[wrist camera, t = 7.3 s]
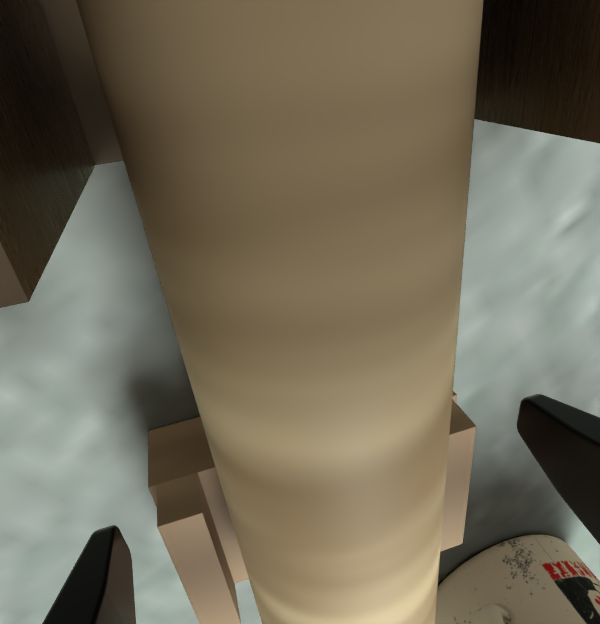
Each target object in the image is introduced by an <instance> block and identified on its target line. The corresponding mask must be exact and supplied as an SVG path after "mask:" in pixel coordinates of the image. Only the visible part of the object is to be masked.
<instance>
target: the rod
mask: <svg viewBox="0 0 600 624" xmlns="http://www.w3.org/2000/svg"><path fill="white" fill-rule="evenodd" d="M76 2H77V6H78V9H79V12H80V16H81V19H82V22H83V26H84V29H85V33H86V36H87V39H88V43H89V46H90V49H91V53H92V56H93V59H94V63H95V66H96V69H97V73H98V76H99V79H100V83H101V86H102V89H103V93H104V96H105V99H106V103H107V106H108V109H109V113H110V116H111V119H112V123H113V126H114V129H115V133H116V136H117V139H118V143H119V146H120V149H121V153H122V156H123V159H124V163H125V166H126V169H127V173H128V176H129V180H130V183H131V186H132V190H133V193H134V196H135V200H136V203H137V206H138V210H139V213H140V216H141V220H142V223H143V226H144V230H145V233H146V236H147V240H148V243H149V246H150V250H151V253H152V256H153V260H154V263H155V266H156V270H157V273H158V276H159V280H160V283H161V286H162V290H163V293H164V296H165V300H166V303H167V306H168V310H169V313H170V317H171V320H172V323H173V327H174V330H175V333H176V337H177V340H178V343H179V347H180V350H181V353H182V357H183V360H184V363H185V367H186V370H187V373H188V377H189V380H190V383H191V387H192V390H193V393H194V397H195V400H196V403H197V407H198V410H199V413H200V417H201V420H202V423H203V427H204V430H205V433H206V437H207V440H208V443H209V447H210V450H211V454H212V457H213V460H214V464H215V467H216V470H217V474H218V477H219V480H220V484H221V487H222V490H223V494H224V497H225V500H226V504H227V507H228V510H229V514H230V517H231V520H232V524H233V527H234V530H235V534H236V537H237V540H238V544H239V547H240V550H241V554H242V557H243V560H244V564H245V567H246V570H247V574H248V577H249V580H250V584H251V587H252V591H253V594H254V597H255V601H256V604H257V607H258V611H259V614H260V617H261V621H262V624H435V612H436V599H437V586H438V574H439V561H440V548H441V535H442V523H443V510H444V497H445V484H446V472H447V459H448V446H449V433H450V421H451V408H452V395H453V382H454V370H455V357H456V344H457V331H458V319H459V306H460V293H461V280H462V268H463V255H464V242H465V229H466V217H467V204H468V191H469V178H470V166H471V153H472V140H473V127H474V115H475V102H476V89H477V76H478V63H479V51H480V38H481V25H482V12H483V0H76Z"/></svg>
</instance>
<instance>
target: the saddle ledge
mask: <svg viewBox="0 0 600 624" xmlns="http://www.w3.org/2000/svg"><path fill="white" fill-rule="evenodd" d="M456 399H457V395H456V394H455V392H454V391H453V395H452V408H451V421H450V433H449V446H448V459H447V472H446V484H445V497H444V510H443V523H442V535H441V548H440V552H441V551H444V550H447V549H449V548H452V547H455V546H458V545H460V544H463V535H464V527H465V519H466V510H467V502H468V493H469V485H470V476H471V468H472V459H473V451H474V442H475V434H476V425H475V424H474V423H473V422H472V421H471V420H470V419H469V418H468V416H467V415H466V414H465V413H464V412H463V411H462V410H461V408H460V407H459V406H458V405H457V404H456ZM148 488H149V490H150V492H151V495H152V497H153V499H154V502H155V504H156V506H157V527H158V529H159V532H160V534H161V536H162V539H163V541H164V543H165V545H166V548H167V550H168V552H169V555H170V557H171V559H172V561H173V564H174V566H175V568H176V571H177V573H178V575H179V577H180V580H181V582H182V584H183V587H184V589H185V591H186V593H187V596H188V598H189V600H190V603H191V605H192V607H193V609H194V612H195V614H196V616H197V619H198V621H199V623H200V624H241V621H240V615H239V609H238V602H237V596H236V590H235V583H238V582H241V581H244V580H246V579H249V577H248V574H247V570H246V567H245V564H244V560H243V557H242V554H241V550H240V547H239V544H238V540H237V537H236V534H235V530H234V527H233V524H232V520H231V517H230V514H229V510H228V507H227V504H226V500H225V497H224V494H223V490H222V487H221V484H220V480H219V477H218V474H217V470H216V467H215V464H214V460H213V457H212V454H211V450H210V447H209V443H208V440H207V437H206V433H205V430H204V427H203V423H202V420H201V417H197V418H193V419H190V420H186V421H182V422H179V423H175V424H171V425H168V426H164V427H161V428H157V429H153V430H150V431H148Z"/></svg>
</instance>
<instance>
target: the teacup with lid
mask: <svg viewBox="0 0 600 624" xmlns="http://www.w3.org/2000/svg"><path fill="white" fill-rule="evenodd" d="M435 624H600V581H599V580H598V579H597V578H596V576H595V575H594V574H593V573H592V572H591V571H590V569H589V568H588V567H587V566H586V565H585V564H584V562H583V561H582V560H581V559H580V558H579V557H578V555H577V554H576V553H575V552H574V551H573V550H572V548H571V547H570V546H569V545H568V544H567V543H566V542H564V541H562V540H561V539H559V538H556V537H553V536H549V535H527V536H521V537H517V538H513V539H510V540H507V541H504V542H502V543H499V544H497V545H494V546H492V547H490V548H488V549H486V550H484V551H482V552H481V553H479V554H477V555H475V556H474V557H472V558H471V559H469V560H468V561H466V562H465V563H463V564H462V565H461V566H459V567H458V568H457V569H455V570H454V571H453V572H452V573H451V574H450V575H449V576H448V577H447V578H445V579H444V580H443V582H442V583H441V584H440V585H439V586H438V587H437V599H436V612H435Z"/></svg>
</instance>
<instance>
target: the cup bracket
mask: <svg viewBox="0 0 600 624" xmlns="http://www.w3.org/2000/svg"><path fill="white" fill-rule="evenodd" d="M474 119H477V120H483V121H488V122H493V123H498V124H503V125H508V126H513V127H519V128H524V129H529V130H534V131H539V132H544V133H549V134H555V135H560V136H565V137H570V138H575V139H580V140H585V141H591V142H596V143H600V0H483V12H482V25H481V38H480V51H479V63H478V76H477V89H476V102H475V115H474ZM123 160H124V159H123V156H122V153H121V149H120V146H119V143H118V139H117V136H116V133H115V129H114V126H113V123H112V119H111V116H110V113H109V109H108V106H107V103H106V99H105V96H104V93H103V89H102V86H101V83H100V79H99V76H98V73H97V69H96V66H95V63H94V59H93V56H92V53H91V49H90V46H89V43H88V39H87V36H86V33H85V29H84V26H83V22H82V19H81V16H80V12H79V9H78V6H77V2H76V0H0V308H1V307H6V306H11V305H15V304H20V303H25V302H29V300H30V298H31V296H32V294H33V292H34V290H35V288H36V286H37V283H38V281H39V279H40V277H41V275H42V273H43V271H44V269H45V267H46V265H47V263H48V261H49V259H50V257H51V255H52V253H53V251H54V249H55V247H56V245H57V243H58V241H59V238H60V236H61V234H62V232H63V230H64V228H65V226H66V224H67V222H68V220H69V218H70V216H71V214H72V212H73V210H74V208H75V206H76V204H77V202H78V200H79V198H80V196H81V193H82V191H83V189H84V187H85V185H86V183H87V181H88V179H89V177H90V175H91V173H92V171H93V169H94V167H95V165H99V164H105V163H111V162H117V161H123Z"/></svg>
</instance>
